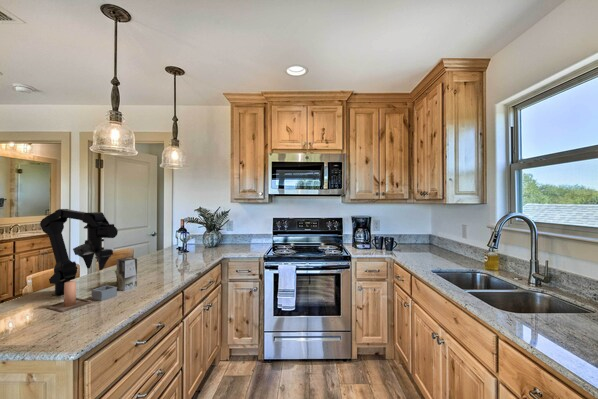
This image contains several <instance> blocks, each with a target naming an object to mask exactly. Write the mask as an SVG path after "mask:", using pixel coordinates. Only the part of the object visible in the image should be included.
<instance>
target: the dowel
mask: <svg viewBox="0 0 598 399" xmlns="http://www.w3.org/2000/svg"><path fill="white" fill-rule="evenodd" d="M76 298H77V281H76V280H70V281H68V282H65V283H64V295H63V302H64V306H65V307H68V306H73V305H75V304H76Z"/></svg>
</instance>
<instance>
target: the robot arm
mask: <svg viewBox="0 0 598 399" xmlns="http://www.w3.org/2000/svg"><path fill="white" fill-rule="evenodd" d="M68 219H71V220H72V219H74V220H78V221H81V222H82V223H84V224H86V225H85V226H84V227H83V229H85V230H86V229H87V239H86V240H84V243H82V244H81V245H78V246H76V247H74V248H72V251H73V253H74V255H75V256H78V257H81V258H82V259H83V261H84V264H85V266H86V268H87V269H91V267H92V263H93V259H94V257H95V259H96V260H97V262H98V270H99V271H102V270H103V269H104V267H105V266H106V263H107V262H108V260H109V259H110V258H111V257H112V256H113V255H114V250H113V249H110V248H105V247H104V246H103V242H105V239H114V238H116V237H117V236H118V233H119V231H118V228H117V227H115V224H114V223H111V224H110V222H109V221H108V219H107V218H106V216H105V213H103V212H102V211H96V212H94V211H93V212H86V211H80V210H79V211H78V210H74V209H68V208H59V209H58V208H57V209H56V210H55V211H54V212H52V213H50V214H48V215H46V216H45V217H44V218H42V219H41V221H39V225H40V228H41V231H42V232H43V233H44V234H46V235H48V239H49V243H50V246H51V249H52V253H53V256H54V259H55V260H54V261H55V264H54V268H53V273H52V276H50V277H49V278H48V281H49V284H50V285H51V284H52V285H53V284H54V292H52V293H51V295H52V296H56V297H61V296H64V283H65V282H68V281H73V280H76V276H77V273H78V269H79V268H78V266H77V262H76V261H71V260H70V258H69V254H68V251H67V247H66V244H65V241H64V236H63V233H62V232H63V231H64V228H65V225H64V224H65V223H66V222H67V221H68Z"/></svg>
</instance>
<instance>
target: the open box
mask: <svg viewBox="0 0 598 399" xmlns="http://www.w3.org/2000/svg"><path fill="white" fill-rule="evenodd" d="M117 292H118V288H117V286H113V285H103V286H99V287H97V288H94V289H91V300H92V301H93V300H94V301H99V302H103V301H106V300H110V299H112V298H115V297H117V296H118V293H117Z"/></svg>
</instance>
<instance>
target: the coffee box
mask: <svg viewBox="0 0 598 399" xmlns="http://www.w3.org/2000/svg"><path fill="white" fill-rule="evenodd" d="M116 269H117V278H116V287H117V290H118V289H119V290H121V291H123V292H127V291H131V290H134V289H138V258H136V257H131V256H128V257H122V258H117V259H116Z"/></svg>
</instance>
